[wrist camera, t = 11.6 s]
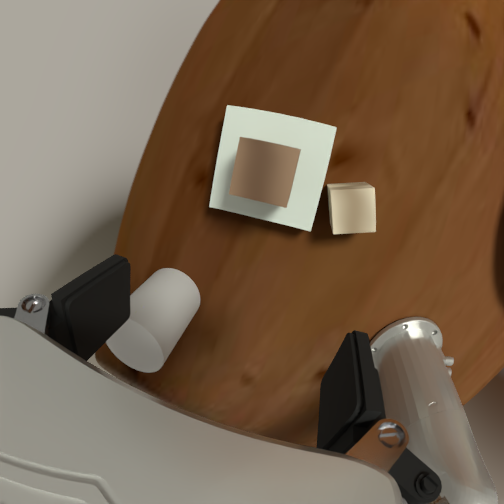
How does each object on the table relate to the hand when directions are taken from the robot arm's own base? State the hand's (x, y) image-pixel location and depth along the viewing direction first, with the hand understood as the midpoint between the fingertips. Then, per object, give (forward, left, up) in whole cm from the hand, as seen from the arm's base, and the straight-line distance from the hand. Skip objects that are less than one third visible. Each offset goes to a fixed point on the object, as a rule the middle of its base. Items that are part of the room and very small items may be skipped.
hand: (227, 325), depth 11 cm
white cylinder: (+12, +16, -22) cm, 30 cm away
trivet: (+2, -4, -22) cm, 23 cm away
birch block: (-7, -2, -22) cm, 24 cm away
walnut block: (+2, -4, -19) cm, 20 cm away
